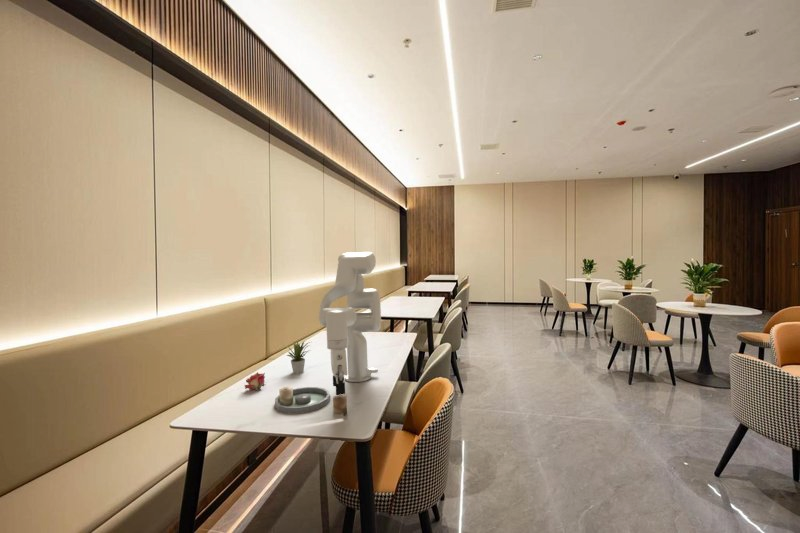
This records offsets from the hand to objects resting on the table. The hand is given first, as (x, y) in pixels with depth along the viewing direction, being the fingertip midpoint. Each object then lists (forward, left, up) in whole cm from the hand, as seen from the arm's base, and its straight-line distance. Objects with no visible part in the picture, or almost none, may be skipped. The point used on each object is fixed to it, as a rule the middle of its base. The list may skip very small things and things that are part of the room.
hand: (339, 389), depth 132 cm
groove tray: (+13, -15, -9) cm, 21 cm away
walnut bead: (0, -1, -9) cm, 9 cm away
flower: (+33, -39, -9) cm, 52 cm away
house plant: (+13, -58, -9) cm, 60 cm away
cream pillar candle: (+19, -15, -8) cm, 25 cm away
